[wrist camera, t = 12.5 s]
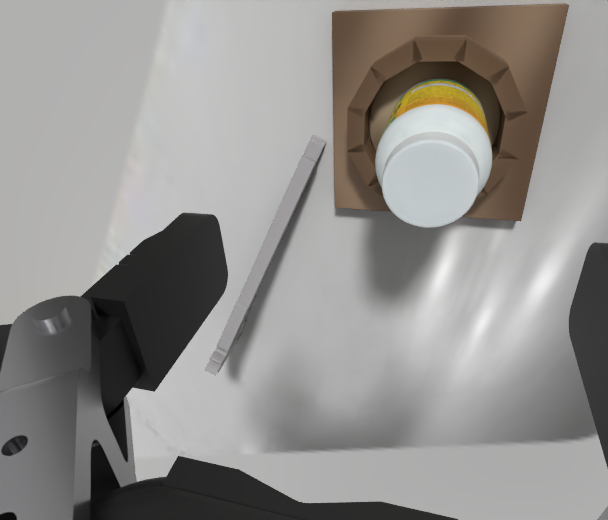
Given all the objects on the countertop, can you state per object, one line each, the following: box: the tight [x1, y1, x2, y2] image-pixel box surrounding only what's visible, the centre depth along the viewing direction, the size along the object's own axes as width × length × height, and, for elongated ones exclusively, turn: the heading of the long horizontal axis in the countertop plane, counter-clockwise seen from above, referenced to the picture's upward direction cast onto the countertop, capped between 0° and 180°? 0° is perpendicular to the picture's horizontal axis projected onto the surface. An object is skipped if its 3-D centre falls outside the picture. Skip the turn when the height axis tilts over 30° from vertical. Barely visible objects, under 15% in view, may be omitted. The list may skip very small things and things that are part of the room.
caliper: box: [205, 136, 326, 376], centre depth 35 cm, size 21×1×6 cm, turn 157°
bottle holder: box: [332, 4, 569, 221], centre depth 27 cm, size 12×12×3 cm
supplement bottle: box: [375, 78, 492, 228], centre depth 24 cm, size 5×5×10 cm
